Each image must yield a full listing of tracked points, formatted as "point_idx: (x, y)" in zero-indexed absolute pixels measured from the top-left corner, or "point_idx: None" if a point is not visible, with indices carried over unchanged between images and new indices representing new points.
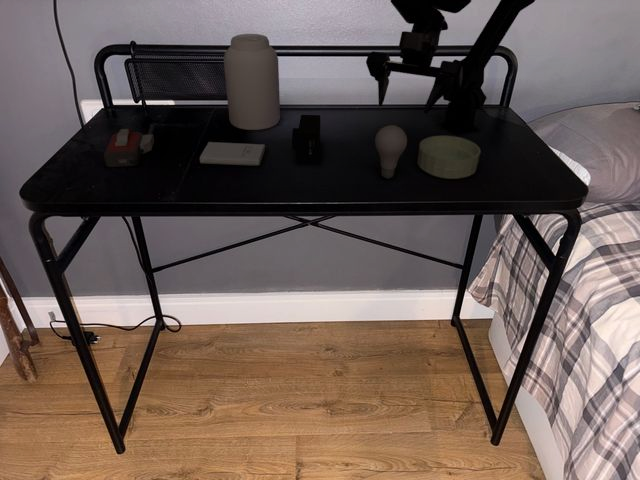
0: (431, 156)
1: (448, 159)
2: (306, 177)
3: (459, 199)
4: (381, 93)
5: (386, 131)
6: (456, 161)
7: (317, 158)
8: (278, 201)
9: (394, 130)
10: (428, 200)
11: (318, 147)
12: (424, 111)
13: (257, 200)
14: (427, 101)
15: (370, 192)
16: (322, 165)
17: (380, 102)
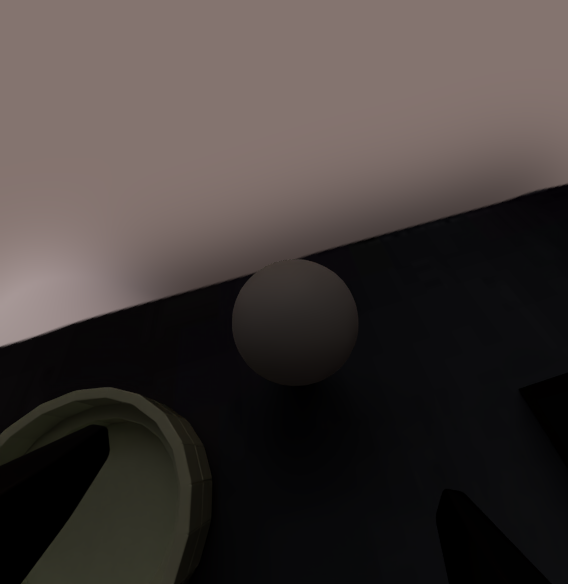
0: (154, 404)
1: (98, 392)
2: (496, 308)
3: (121, 315)
4: (516, 579)
5: (312, 268)
6: (74, 391)
7: (535, 384)
8: (481, 209)
9: (279, 271)
10: (191, 292)
11: (566, 385)
12: (103, 427)
13: (520, 201)
14: (30, 473)
15: None
16: (503, 389)
17: (452, 494)
